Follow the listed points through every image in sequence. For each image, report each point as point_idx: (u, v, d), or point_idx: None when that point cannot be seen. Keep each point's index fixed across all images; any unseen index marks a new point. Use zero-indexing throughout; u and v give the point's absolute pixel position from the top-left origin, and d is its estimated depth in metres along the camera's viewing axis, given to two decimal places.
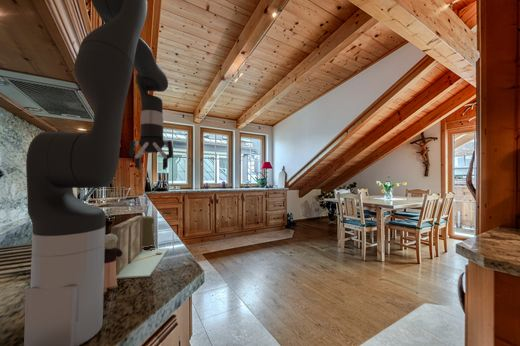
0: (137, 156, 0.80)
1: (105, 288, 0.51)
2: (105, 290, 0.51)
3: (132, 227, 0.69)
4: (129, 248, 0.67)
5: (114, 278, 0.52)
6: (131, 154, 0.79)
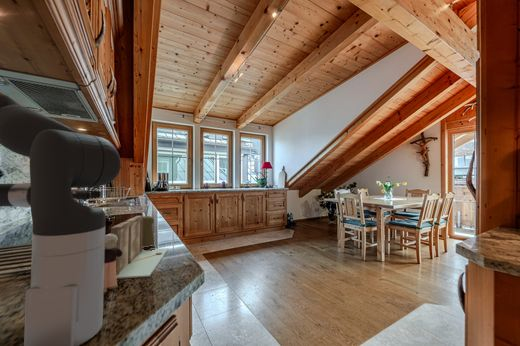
0: None
1: (105, 288, 0.51)
2: (105, 290, 0.51)
3: (132, 227, 0.69)
4: (129, 248, 0.67)
5: (114, 278, 0.52)
6: None
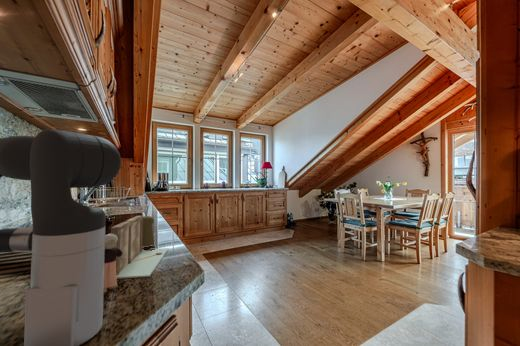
0: None
1: (105, 288, 0.51)
2: (105, 290, 0.51)
3: (132, 227, 0.69)
4: (129, 248, 0.67)
5: (114, 278, 0.52)
6: None
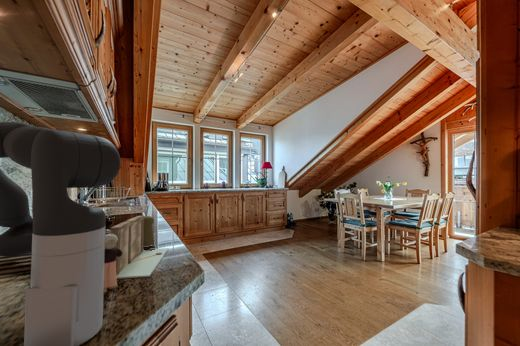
0: None
1: (105, 288, 0.51)
2: (105, 290, 0.51)
3: (132, 227, 0.69)
4: (129, 248, 0.67)
5: (114, 278, 0.52)
6: None
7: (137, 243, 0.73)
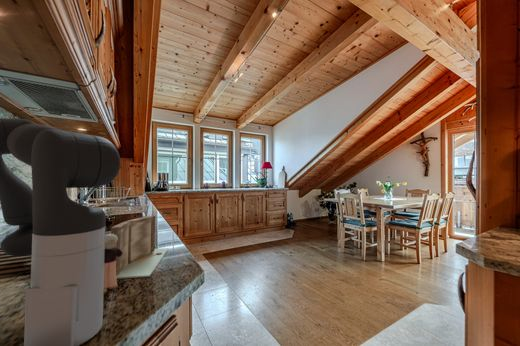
0: None
1: (105, 288, 0.51)
2: (105, 290, 0.51)
3: (134, 228, 0.69)
4: (128, 248, 0.67)
5: (114, 278, 0.52)
6: None
7: (144, 243, 0.72)
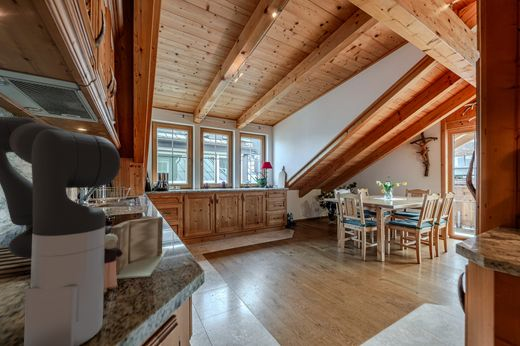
0: None
1: (105, 288, 0.51)
2: (105, 290, 0.51)
3: (135, 228, 0.68)
4: None
5: (114, 278, 0.52)
6: None
7: (148, 245, 0.71)
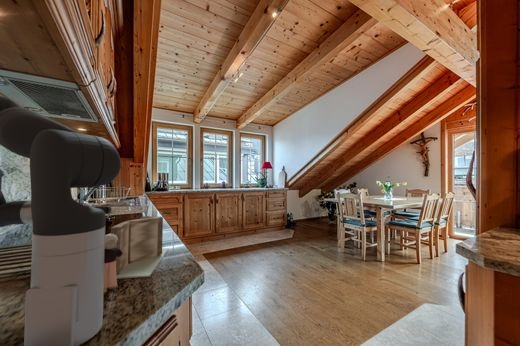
0: (93, 206, 0.70)
1: (105, 288, 0.51)
2: (105, 290, 0.51)
3: (135, 228, 0.68)
4: None
5: (114, 278, 0.52)
6: None
7: (148, 245, 0.71)
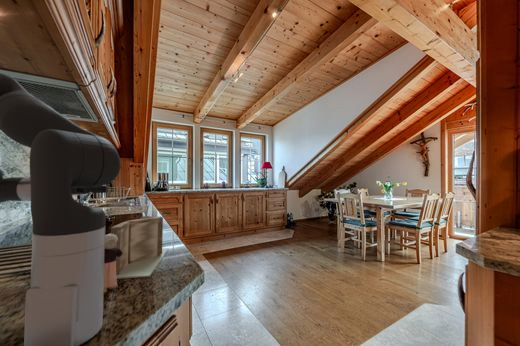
0: None
1: (105, 288, 0.51)
2: (105, 290, 0.51)
3: (135, 228, 0.68)
4: None
5: (114, 278, 0.52)
6: None
7: (148, 245, 0.71)
